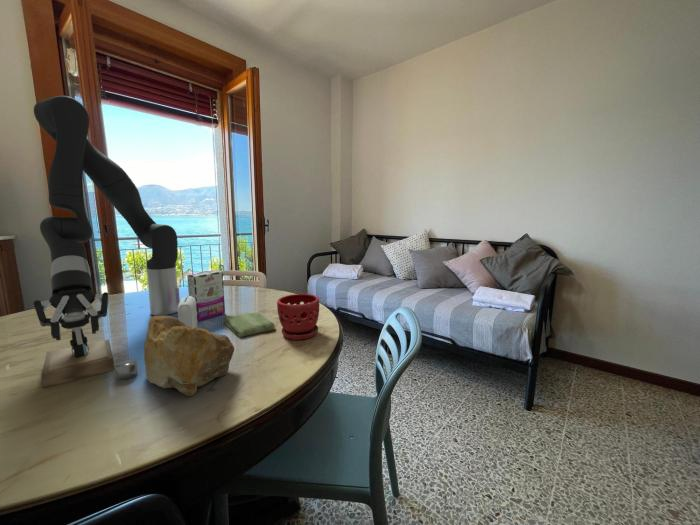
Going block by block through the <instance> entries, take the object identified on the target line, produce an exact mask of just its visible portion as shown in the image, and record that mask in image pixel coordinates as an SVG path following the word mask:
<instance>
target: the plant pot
mask: <svg viewBox="0 0 700 525" xmlns="http://www.w3.org/2000/svg"><path fill="white" fill-rule="evenodd" d="M276 306H277V309H276V310H277V315H278V319H279V322H280V325H281V327H282V328H281V334H282V335H283V337H285V338H287V339H289V340H296V341H300V340H305V339H309V338H311V337H314V336H315V335H316V334H317V333H318V331H319V326H318V325H317V324H318V323H317V322H318V321H319V314H320V298H319V296H317V295H315V294H309V293H294V294H293V293H292V294H288V295H285V296H282V297H280V298H278V299H277V302H276Z"/></svg>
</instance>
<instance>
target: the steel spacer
mask: <svg viewBox="0 0 700 525" xmlns="http://www.w3.org/2000/svg"><path fill="white" fill-rule="evenodd" d="M137 361H138V360H135V359H128V360H123V361H120V362H118V363H116V364H114V370H115V378H116V380H117V381H127V380H130V379H133V378H135V377H137V375H138V374H139V373H138V372H139V371H138V364H137V363H138V362H137Z"/></svg>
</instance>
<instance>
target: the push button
mask: <svg viewBox="0 0 700 525" xmlns="http://www.w3.org/2000/svg"><path fill="white" fill-rule="evenodd" d="M90 319H91V318H90V315H87V314H86V313H85V312H84V311H83V312H73V313H69V314H66V315H64V318H63V319H61V320H60V321H59V322H60V324H61V325H60V324H59V325H60V327H61V328H63V329H66V330H71V340H69V342H70V347H72V348H71V350H74V353H75V357H76V358H78V357H81V356H85V355H87V350H86V346H87V347H88V344H89V343H88V337H87V336H85V335H84V332H83V331H84V330H83V329H82V328H83V327H85V326H86V325H87V324H89V323H90ZM88 351H89V347H88ZM72 355H73V351H72Z"/></svg>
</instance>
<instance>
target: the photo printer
mask: <svg viewBox="0 0 700 525" xmlns="http://www.w3.org/2000/svg"><path fill="white" fill-rule="evenodd" d="M177 319H178V320H179V321H181V322H182V323H184V324H185V325H186V326H188V327H190V328H195V327H198V326H199V325H198V321H197V310H196V300H195V298H194V297H192V296H189V295H188V296H187V295H186V296H184V297H182V298H181V300H180V303H179V305H178V312H177ZM198 328H199V327H198Z"/></svg>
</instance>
